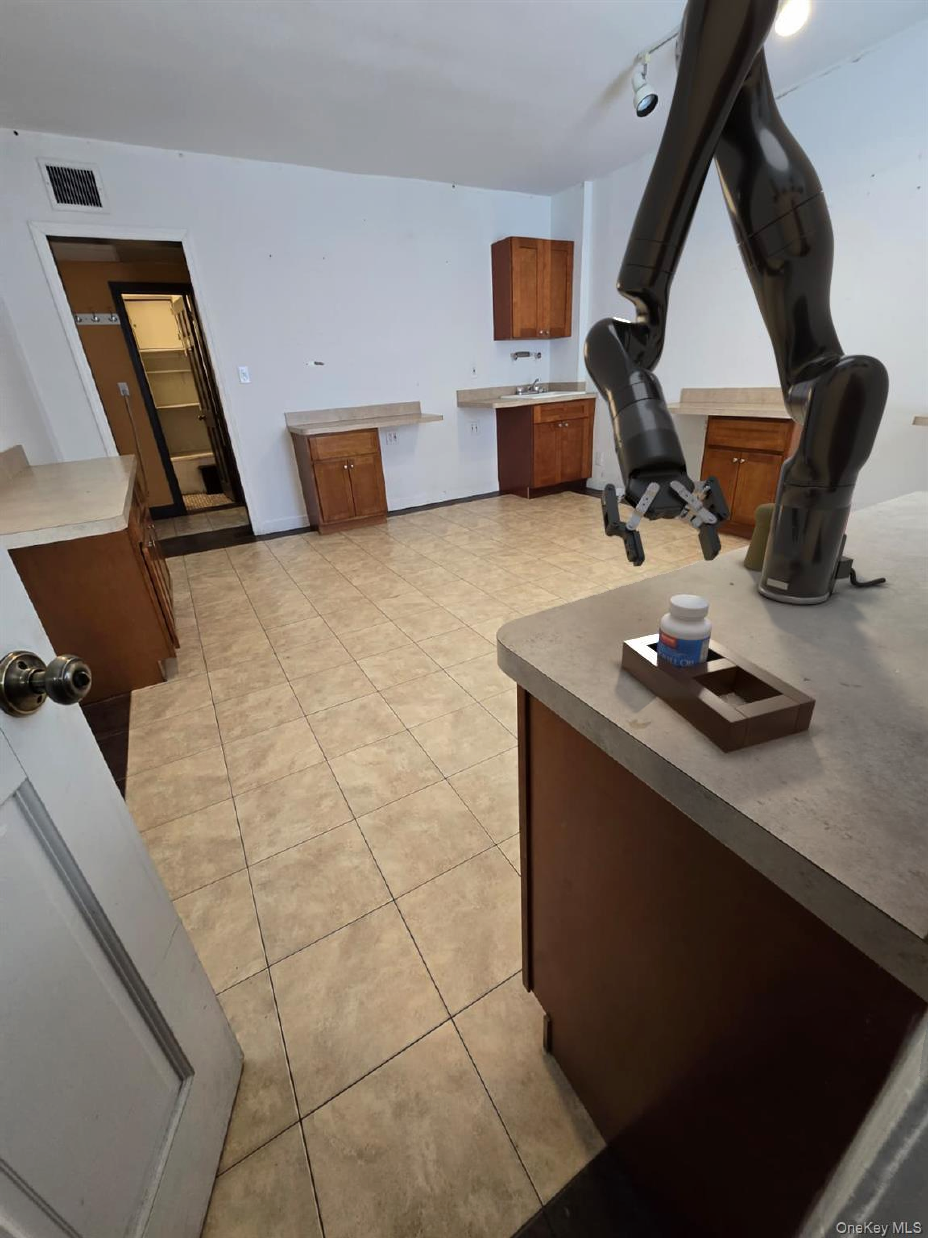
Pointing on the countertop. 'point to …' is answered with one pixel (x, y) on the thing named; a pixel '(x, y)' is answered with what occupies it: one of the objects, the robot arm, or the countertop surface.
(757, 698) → the socket block
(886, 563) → the countertop surface
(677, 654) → the pill bottle
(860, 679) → the countertop surface
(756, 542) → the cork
